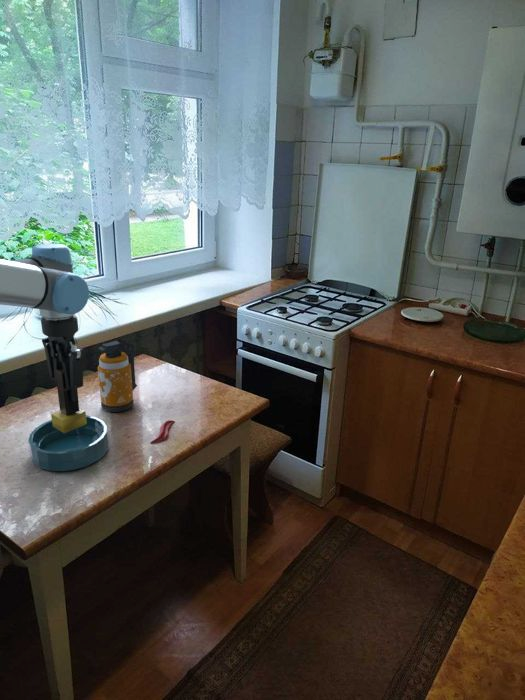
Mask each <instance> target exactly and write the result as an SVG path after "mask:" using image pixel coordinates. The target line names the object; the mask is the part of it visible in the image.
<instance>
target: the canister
mask: <svg viewBox="0 0 525 700" xmlns="http://www.w3.org/2000/svg"><path fill="white" fill-rule="evenodd" d="M135 348H136V345H135V344H133V343H132V342H128V341H125V340H123V339H120V338H117V339H115V340H114V341H111V342H108V343H102V344H101V346H99V347H98V348H97V349H98V351H100V352H102V353H101V355H100V356H99V358H98V363H99V365H98V366H97V375H98V386H99V396H100V397H99V399H100V407H101V409H102V410H104V411H106V412H112V413H113V412H123V411H126V410H128V409H130V408H132V407H133V406H134V390H135V389H136V388H137V387H138V384H137V383H136V372H135V356H134V353H135Z"/></svg>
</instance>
